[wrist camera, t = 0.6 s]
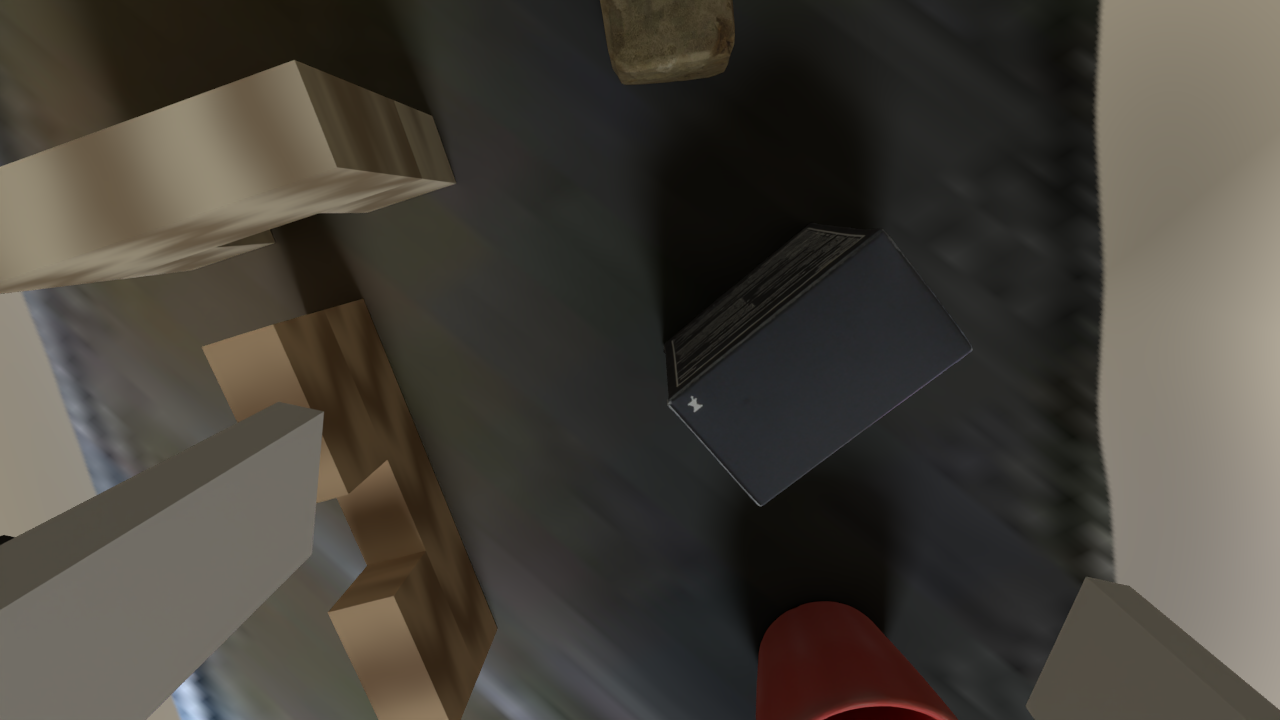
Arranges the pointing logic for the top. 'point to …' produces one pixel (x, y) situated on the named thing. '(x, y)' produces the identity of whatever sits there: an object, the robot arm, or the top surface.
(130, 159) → the beige wooden slab
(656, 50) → the stone block
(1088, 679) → the robot arm
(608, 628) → the top surface
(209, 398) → the top surface
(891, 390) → the small box
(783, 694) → the flower pot
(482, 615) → the oak board
